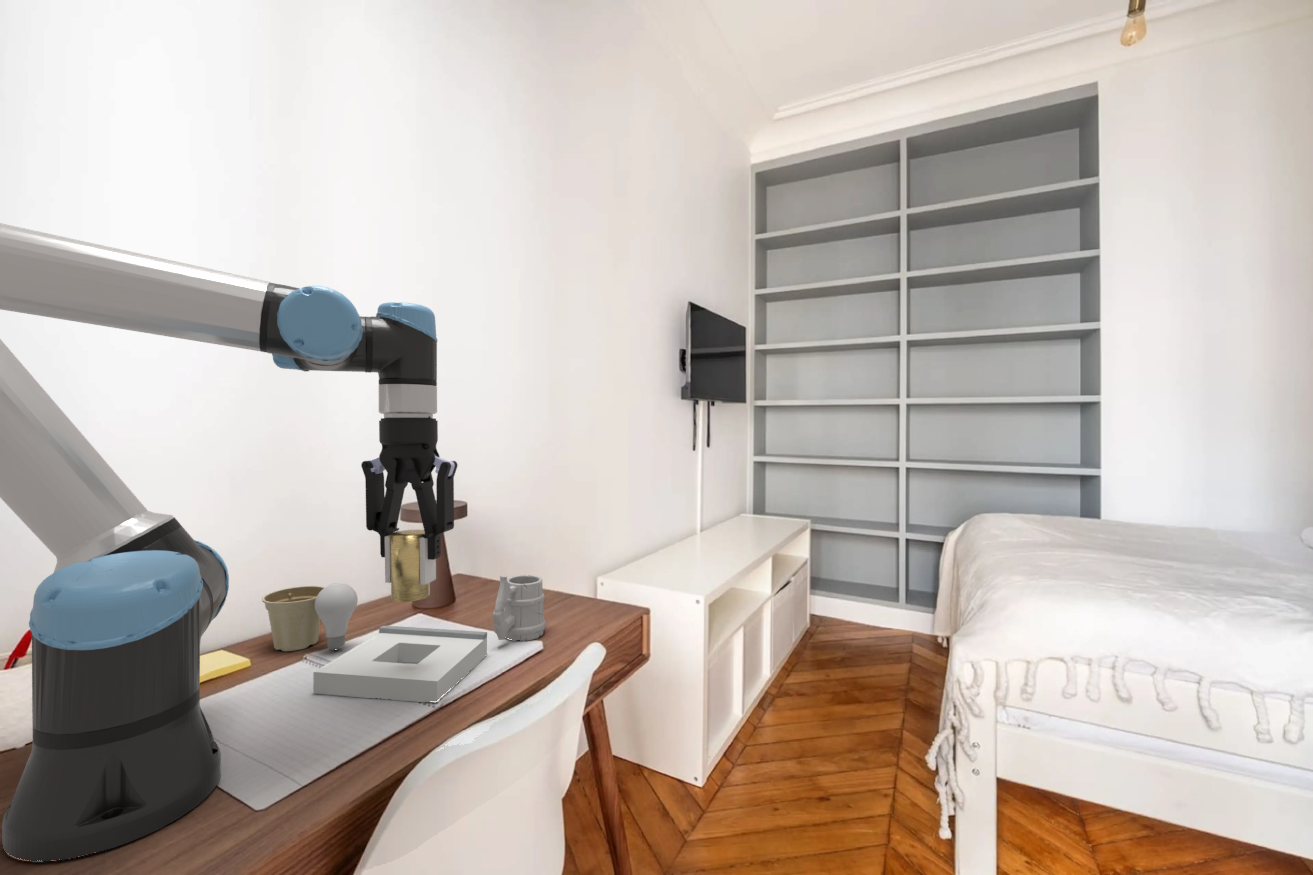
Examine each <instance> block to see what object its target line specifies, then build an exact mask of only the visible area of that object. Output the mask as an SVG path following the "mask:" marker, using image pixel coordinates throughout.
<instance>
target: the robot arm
mask: <svg viewBox="0 0 1313 875" xmlns="http://www.w3.org/2000/svg"><path fill="white" fill-rule="evenodd" d="M355 306H356V305H354V304H353V302H352V301H351V300H350V299H349V298H348V297H346V295H344V294H343V293H341V292H339V291H337V290H336V289H333V288H330V287H328V286H323V285H307V286H303V287H300V288H299V287H296V286H295V287H294V286H290V285H285V284H280V283H273V282H271V281H268V280H267V281H266V280H262V279H257V278H255V277H254V278H253V277H249V276H248V277H247V276H244V275H240V274H234V273H230V272H226V271H223V270H222V271H221V270H216V269H213V268H207V267H203V266H197V265H193V264H189V263H184V262H179V261H175V260H170V259H165V258H162V257H158V256H153V255H149V254H143V253H139V252H134V251H130V250H126V249H120V248H116V247H112V246H106V245H102V244H97V243H94V242H93V243H92V242H89V241H84V240H80V239H76V238H75V239H74V238H70V237H65V236H60V235H56V234H52V233H48V232H47V233H46V232H43V231H39V230H33V229H29V228H25V227H19V226H16V225H15V226H14V225H11V224H7V223H2V222H0V311H1V310H3V311H6V312H7V311H8V312H15V313H21V314H27V315H33V316H40V317H45V318H46V317H47V318H52V319H57V320H65V321H70V322H77V323H81V324H82V323H83V324H89V325H95V326H101V327H105V328H106V327H107V328H112V329H120V330H126V331H133V332H138V333H144V334H151V335H157V336H164V337H170V338H176V339H182V340H188V341H194V342H200V343H206V344H213V345H218V346H224V347H225V346H226V347H231V348H238V349H244V350H251V351H255V352H262V353H267V354H271V355H272V360H273V363H274V365H275V366H276V367H277V368H280V369H283V370H285V369H286V370H297V371H302V372H305V373H306V372H310V371H316V372H317V371H320V372H354V373H355V372H357V373H358V372H359V373H362V372H363V373H376V374H378V413H379V414H382V415H383V417H384V418H383V417H381V418H380V420H378V424H379V425H378V426H379V427H378V430H379V432H378V436H379V440H378V441H379V443H380V444H381V451H380V453H379V456H378V457H376V458H374V459H372V460H363V461H362V462H361V469H362V472H363V474H364V478H365V525H366V529H367V531H371V532H372V531H373V532H376V533H378V534H377V535H379V539H380V540H379V542H380V543H379V544H380V545H379V546H380V547H379V548H380V551H379V552H380V557H381V558H384V576H385V578H384V579H385V580H384V582H385V584H386V583H387V584H391V534H392V533H394V532H397V531H400V527H398V523H399V519H400V518H399V517H400V512H401V509H402V503H403V498H404V494H405V488H407V486H408V483H410V485H411V488H412V490H413V491H414V493H415V497H416V501H417V505H418V508H419V509H418V510H419V514H420V518H421V523H422V527H423V530H424V532H425V534H424V535H422V537H421V538H420V584H421V585H426V584H428V583H430V584H431V583H432V582H434V581H436V580H437V559H439V558H440V557H441V554H442V547H441V543H442V542H441V541H442V540H441V539H442V538H441V537H442V535H443V534H444V533H446V532H448V531H449V532H450V531H452V530H453V529H454V527H455V504H454V503H455V500H454V499H455V496H454V495H455V492H454V491H455V490H454V489H455V487H454V486H455V484H454V483H455V479H454V477H455V475H456V471H457V469H458V462H457V461H455V460H450V461H449V460H447V459H444V458H442V457H440V454H439V452H438V449H437V444H438V439H439V435H438V428H439V427H438V423H439V422H438V420H437V418H434V415H435V414H437V413H438V382H437V381H438V361H437V360H438V354H437V353H438V339H437V328H436V327H437V326H436V324H437V323H436V316H435V313H434V312H433V311H432V309H430V308H429V307H427V306H425V305H422V304H417V303H412V302H394V301H393V302H384V303H381V304H379V306H378V307H377V312H376V314H375V316H360V314H359V312H358V310H357V308H356V307H355ZM434 469H435V473H436V474H437V475H436V485H435V484H434V477H433V474H432V472H433V471H434ZM384 471H386V473H387V474H386V479H385V475H384ZM434 485H435V486H436V488H435V489H436V491H435V492H436V495H435V492H434ZM0 499H1V501H2V502H3V503H5V505H7V507H8V508H9V509H10V510H11V511H12V512H13V513H14V514H15V515H16V516H17V517H18V518H19V520H21V522H23V524H24V525H26V527H27V528H28V529H29V530H30V531H31V532H32V533H33V534H34V535H35V536H36V538H38V540H40V542H41V543H42V544H43V545H44V546H45V547H46V548H47V549H48V550H49V551H50V552H51V554H53V555H54V556H55V557H56V565H55V567H54V570H53V573H51V574H49V575H47V577H45V578H44V579H43V580H42V581H41V582H40V583H39V585H38V586H37V587H36V589H35V592H34V595H33V603H32V604H33V605H32V608H31V610H30V614H29V621H28V626H29V630H30V632H31V685H32V686H31V699H32V701H31V702H32V703H31V705H32V710H31V711H32V712H31V713H32V717H31V718H32V719H31V721H32V747H31V751H30V754H29V757H28V758H27V761H26V764H25V767H24V769H23V771H22V773H21V776H20V778H19V782H18V783H17V787H16V790H15V793H14V795H13V797H12V801H11V802H10V804H9V806H8V808H7V809H6V811H5V812H4V815H3V819H2V825H1V827H2V830H1V832H2V834H1V837H2V838H1V839H2V841H1V844H3V847H4V849H5V851H6V852H7V853H9V855H12V856H14V857H16V858H19V859H20V858H21V859H23V860H24V859H25V860H29V861H30V860H31V861H37V860H38V861H39V860H40V861H41V860H42V861H51V860H59V859H60V860H62V859H68V860H70V859H69V858H73V859H77V858H76V857H78V856H82V855H86V854H91V853H94V852H98V853H100V852H99V851H102V852H104V851H103V850H105V851H107V850H106V849H108V850H111V849H114V848H117V847H120V846H123V845H125V844H128V843H131V842H132V841H133V842H134V841H135V840H138V839H140V838H142V837H145V836H147V835H149V834H151V833H154V832H155V831H158V830H159V829H161V828H163V827H165V826H167V825H169V824H171V823H173V822H174V821H176V820H178V819H179V818H181V817H182V816H184V815H186V814H187V813H188V812H190V811H191V810H193V809H194V808H196V807H197V806H198V805H199V804H200V803H202V802H203V801H205V800H206V798H208V796H209V795H211V793H212V792H213V790H215V789H216V787H217V785H218V784H219V782H220V780H221V776H222V774H221V771H222V767H221V766H222V764H221V762H222V761H221V760H222V758H221V757H222V755H221V748H220V747H219V746H218V744H217V742H216V741H215V739H214V736H213V732H212V731H211V728H210V725H209V724H208V720H207V718H206V717H205V714H204V712H203V710H202V708H201V701H200V699H201V698H200V696H201V695H200V692H201V691H200V690H201V689H200V688H201V687H200V685H201V684H200V682H201V681H200V680H201V677H200V676H201V640H202V637H203V635H204V633H206V630H208V628H209V626H210V625H211V623H212V621H213V620H214V619H216V618H217V617H218V615H219V613H220V612H221V610H222V608H223V607H224V605H225V602H226V601H227V597H228V594H229V588H230V587H229V586H230V585H229V584H230V581H229V580H230V578H229V577H230V576H229V571H228V567H227V565H226V562H225V560H224V559H223V558H222V556H221V555H220V554H219V553H218V551H217V550H215V549H213V548H212V547H211V546H209V545H208V544H206V543H204V542H202V541H199V540H196V539H194V538H193V537H192V536H191V535H190V534H189V533H188V531H187V530H186V529H185V528H184V527H183V525H182V524H181V523H180V522H179V521H178V520H177V519H176V517H175V516H173V515H171V514H168V513H167V514H166V513H158V512H153V511H150V510H148V509H147V508H146V507H145V505H144V504H143V503H142V502H141V501H140V499H138V497H137V496H136V495H135V493H133V492H132V490H131V489H130V487H128V486H127V484H126V483H125V482H124V481H123V480H122V479H121V477H120V476H119V475H118V474H117V473H116V472H115V471H114V469H113V468H112V467H111V466H110V465H109V464H108V462H107V461H106V460H105V459H104V457H103V456H102V455H101V454H100V453H99V451H98V450H97V449H96V448H94V446H93V445H92V444H91V443H90V441H89V440H88V439H87V438H86V437H85V436H84V435H83V433H82V432H81V431H80V430H79V429H78V427H76V425H75V424H74V423H73V422H72V421H71V420H70V419H69V417H68V416H67V415H66V413H65V412H64V410H62V409H61V408H60V407H59V405H58V404H57V403H56V402H55V400H53V398H51V396H50V394H48V392H47V391H46V390H45V389H44V388H43V387H42V386H41V385H40V383H39V382H38V380H36V378H34V376H33V375H32V374H31V373H30V372H29V370H28V369H27V368H26V367H25V366H24V365H23V364H22V363H21V361H20V360H19V359H18V358H17V356H15V354H14V353H13V352H12V350H11V349H10V348H9V347H8V346H7V344H5V343H4V341H3V340H2V339H1V338H0ZM3 847H2V848H3ZM110 848H111V849H110ZM91 855H92V854H91ZM74 857H75V858H74ZM78 858H79V857H78ZM62 861H63V860H62Z"/></svg>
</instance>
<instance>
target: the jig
mask: <svg viewBox="0 0 1313 875" xmlns="http://www.w3.org/2000/svg"><path fill="white" fill-rule="evenodd" d="M485 655H488V632H487V631H475V630H460V629H445V628H431V627H430V628H429V627H428V628H427V627H412V626H396V625H381V626H379V628H378V633H376V634H374V636H371V637H370V638H368V639H366V640H365V641H362V643H360V644H358V645H356V646H354V647H353V648H352V649H349V650H348V651H346V652H345V653H343V654H341V655H340V656H338V657H336V658H335V659H333V660H331V661H330V662H327V663H326V664H324V665H323V666H321V667H319V668H318V669H316V670H314V671H313V673H312V674H313V681H312V684H313V685H312V686H313V687H312V692H313V693H312V694H316V695H327V696H328V695H329V696H338V697H340V696H341V697H350V698H351V697H354V698H366V699H375V698H378V699H379V700H388V699H391V700H390V701H400V702H401V701H403V702H413V703H414V702H417V703H425V702H430V701H437V700H438V699H439V698H440V697H441V696H442V695H443V694H445V693H446V692H447V691H448V690H449V689H450V688H452V687H453V686H454V685H455V684H456V683H457V682H458V681H460V680H461V678H463V677H464V676H465V675H466V674H467V673H468V672H469V671H470V670H471V671H472V670H473V669H475V667H476V666H477V665H478V664H480V662H482V661H483V659H484V658H485V657H484V656H485ZM483 657H484V658H483ZM414 662H415V663H414ZM471 671H470V672H471ZM470 672H469V673H470ZM469 673H468V674H469ZM468 674H467V675H468ZM467 675H466V676H467ZM466 676H465V677H466ZM465 677H464V678H465ZM464 678H463V679H464ZM461 681H462V680H461ZM461 681H460V682H461ZM454 687H455V686H454ZM454 687H453V688H454ZM453 688H452V689H453ZM380 698H381V699H380Z"/></svg>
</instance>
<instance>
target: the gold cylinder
mask: <svg viewBox="0 0 1313 875" xmlns="http://www.w3.org/2000/svg"><path fill="white" fill-rule="evenodd" d="M424 534H425V532H424V529H405V530H404V529H403V530H398V531H396V532H394V533H392V534H391V583H390V599H391V600H392V601H393V602H398V603H399V602H400V603H406V602H415V601H416V602H417V601H421V600H424V599H426V598H428V597H430V594H431V589H430V587H431V582H430V583H428V584H426V585H421V584H420V538H421V537H422V535H424Z"/></svg>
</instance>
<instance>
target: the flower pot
mask: <svg viewBox="0 0 1313 875" xmlns="http://www.w3.org/2000/svg"><path fill="white" fill-rule="evenodd" d="M325 587H326V586H321V585H303V586H302V585H301V586H293V587H287V588H282V589H278V590H274V591H271V592H269V593H266V594H265V595H264V596H262V597H261V602H262V603H264V606H265V609H266V610H267V614H268V618H269V623H270V624H269V625H270V630H271V635H272V636H271V637H272V642H273V649H275V650H276V651H280V650H281V651H282V652H293V651H301V650H305V649H307V648H308V647H310V645H313V646H315V644H317V642H319V636H320V635H319V634H320V628H321V622H322V620H321V619H320V617H319V616H318V614H317V612H316V610H315V600H316V597H317V595H318V594H319V592H320V591H321V590H322V589H324V588H325Z"/></svg>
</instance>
